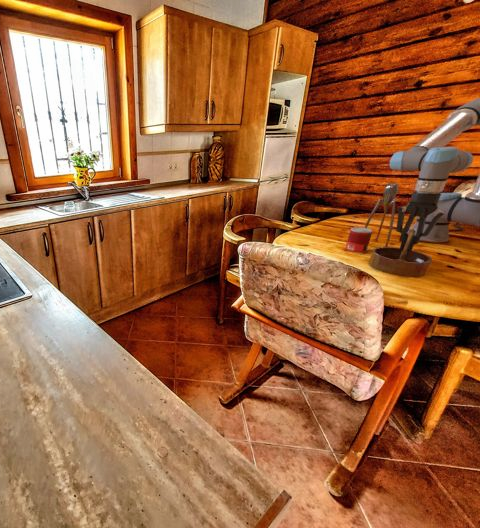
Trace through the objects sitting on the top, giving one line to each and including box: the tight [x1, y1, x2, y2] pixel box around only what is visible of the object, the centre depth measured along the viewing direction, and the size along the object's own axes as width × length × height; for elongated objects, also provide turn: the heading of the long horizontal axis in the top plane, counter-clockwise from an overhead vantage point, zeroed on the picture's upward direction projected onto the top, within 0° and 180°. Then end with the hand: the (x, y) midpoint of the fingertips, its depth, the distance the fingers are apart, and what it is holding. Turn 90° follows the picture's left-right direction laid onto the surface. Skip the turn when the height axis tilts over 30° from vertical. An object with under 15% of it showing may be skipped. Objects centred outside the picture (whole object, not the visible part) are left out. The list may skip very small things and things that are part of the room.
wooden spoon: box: [396, 229, 416, 262], centre depth 112 cm, size 4×4×15 cm
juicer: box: [363, 182, 399, 247], centre depth 135 cm, size 10×11×30 cm
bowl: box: [368, 246, 433, 278], centre depth 113 cm, size 18×18×6 cm
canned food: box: [345, 226, 373, 254], centre depth 131 cm, size 8×8×11 cm
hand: (405, 250), depth 113 cm, fingers closed on wooden spoon, 2 cm apart
